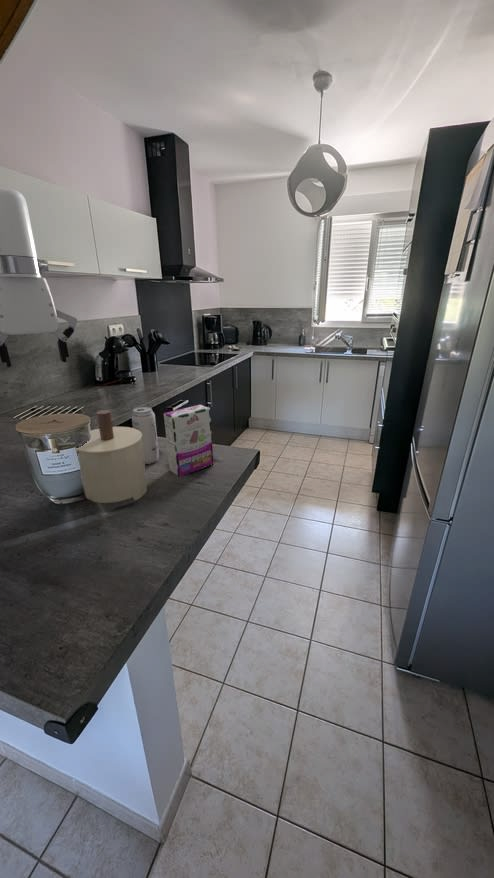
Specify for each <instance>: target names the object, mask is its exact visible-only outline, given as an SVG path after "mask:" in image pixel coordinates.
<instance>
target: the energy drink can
mask: <svg viewBox="0 0 494 878" xmlns="http://www.w3.org/2000/svg"><path fill="white" fill-rule="evenodd" d="M131 424H132V428H134V429H137V430H139V431H140V432H141V433H142V446H143V454H144V462H145V464H149V465H151V464H150V463H153V462H155V461H157V462H158V460H159V458H160V453H159V452H160V451H159V441H158V432H157V421H156V414H155V412H154V411H153V408H152V407H150V406H139V407H135V408H134V409H132V414H131ZM155 463H156V462H155ZM153 464H154V463H153Z"/></svg>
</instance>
